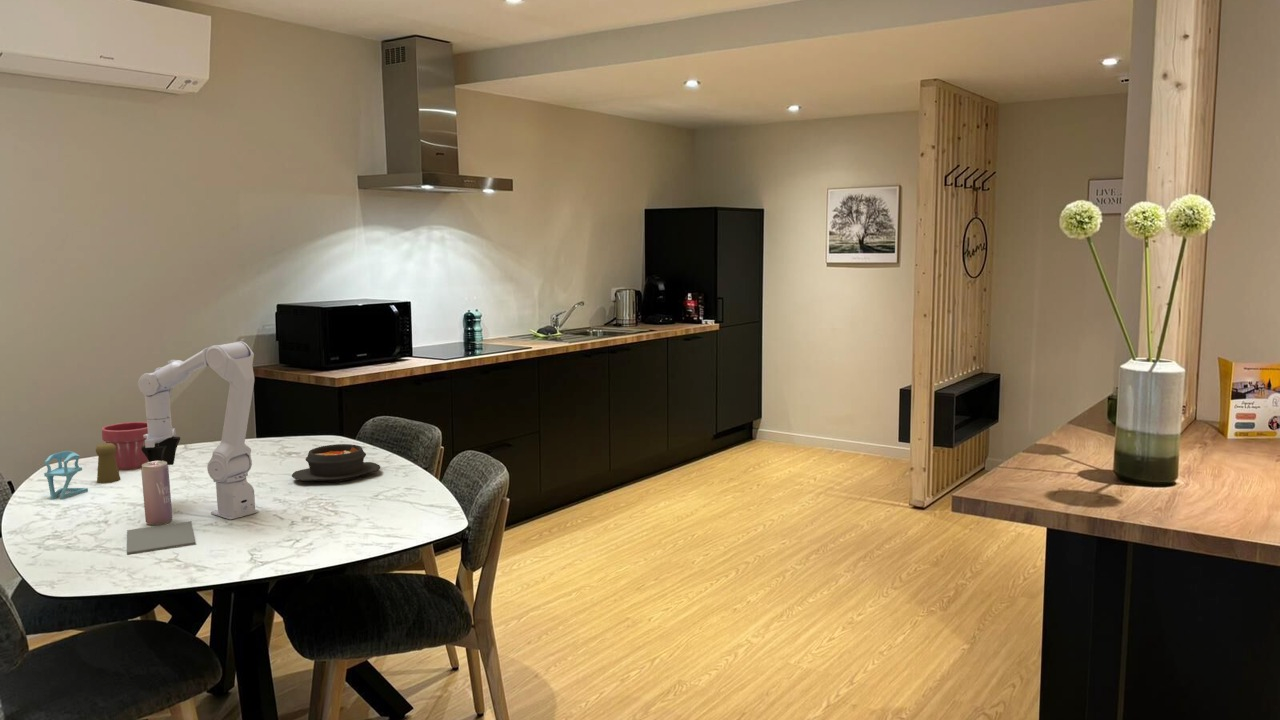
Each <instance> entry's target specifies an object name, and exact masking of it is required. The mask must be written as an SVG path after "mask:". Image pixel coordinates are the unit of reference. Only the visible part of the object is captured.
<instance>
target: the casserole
mask: <svg viewBox="0 0 1280 720" xmlns="http://www.w3.org/2000/svg"><path fill="white" fill-rule="evenodd" d="M365 457H367V453H366V452H365V451H364V449H363V447H362V446H360V445H356V444H351V443H348V444H347V443H340V444H339V443H337V444H335V443H334V444H328V445H323V446H317V447H315V448H312V449H310V450H309V451H308V453H307V457H306V458H305V461H306V463H307V464H308V468H304V469H300V470H295V471H294V472H293V473H292V474H291V477H292V478H293V479H294V480H298V481H303V482H304V481H307V482H310V481H320V482H324V483H326V482H327V483H328V482H329V483H336V482H345V481H348V480H352V479H355V478H357V477H359V476H362V475H365V474H371V473H374V472H378V471H380V469H381V465H380V464H378V463H377V462H376V463H375V462H372V461H364V459H365Z"/></svg>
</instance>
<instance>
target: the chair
mask: <svg viewBox="0 0 1280 720" xmlns="http://www.w3.org/2000/svg"><path fill="white" fill-rule="evenodd" d="M53 459H56V460H57V462H58V463H57V464H58V465H57V466H58V467H56V468H54V469H52V467H51V465H50V462H51V461H52V460H53ZM62 459H64V460H63V462H62ZM73 459H74V467H69V466H68V463H69V462H70V461H71V460H73ZM79 459H80V454H78V453H76V452H74V451H70V450H64V451H61V452H56V453H53V454H50V455H49V456H47V458H46V460H44V463H45V466H46V468H47V471H46V472H44V473H43V475H44V476H43V477H46V480H47V482H48V483H47V484H48V488H49V494H50V500H55V499H57V498H58V497H59V500H64V499H67V498H71V497H73V496H76V495H80V494H83V493H84V494H85V493H87V492H88V491H89V488H88V487H69V485H70V483H71V481H72V479H73V477H74V476H75V475H76V474H78V472H81V471H83V467H82V466H79ZM62 463H63V464H62ZM54 477H66V480H65V482H64V485H63V487H60V488H58V489H57V490H55V489H56V488H55V484H54ZM66 492H67V493H66Z"/></svg>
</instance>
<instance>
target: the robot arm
mask: <svg viewBox="0 0 1280 720" xmlns="http://www.w3.org/2000/svg"><path fill="white" fill-rule="evenodd" d="M254 356H255V353H254V352H253V350H252V349H251V348H250V346H249V345H248V344H247V343H246V342H244V341H241V340H240V341H234V342H231V343H225V344H223V343H222V344H219V345H218V344H215V345H214V344H213V345H211V346H209V347H205V348H204V349H202V350H201V351H199V352H197V353H196V354H194V355H192V356H190V357H189V358H187V359H186V360H184V361H183V360H180V359H170V360H168V361H167V364H166V365H164V366H162V367H161V366H160V367H157V368H155V369H154V372H150V373H149V372H146V373H143V374H142V375H141V376H140V377H139V379H138V380H137V381H138V382H137V387H138V389H139V391H140V393H141V394H143V396H144V403H145V404H144V406H145V415H146V422H147V428H148V434H145V435H143V437H144V438H147V439H146V440H145V445H144V446H142V447H141V450H142V452H143V453H144V454H145V456H146V457H147V459H148V462H153V461H166V462H167V465H168V466H173V465H174V464H175V458H176V454H177V453H176V452H177V448H178V445H179V443H180V441H181V437H180V436H176V428H175V427H174V428H173V425H172V423H173V422H172V411H171V400H170V399H171V398H172V390H173V389H174V387H176V386H179V385H180V384H182V383H184V382H186V381H188V380H190V378H191V374H192V373H193V372H195V371H199V370H200V369H202V368H204V367H209V368H210V369H212V371H214V372H215V373H216V375H218V376H219V377H220V378H222V379H223V380H224V381H226V382H227V383H228V384H229V387H228V394H227V400H226V401H227V402H226V408H225V413H224V421H223V428H222V432H221V441H220V443H219V444H218V445H217V446H216V447H215V449H214V450H213V451H212V456H211V458H210V459H209V461H208V463H207V468H206V469H207V473H208V475H209V477H210V478H211V479H212V480H213V483H215V490H216V491H215V492H216V503H217V509H216V510H212V511H210V514H211V515H215V516H218V517H221V518H225V519H227V520H234V519H239V518H242V517H245V516H249V515H254V514H256V513H259V512H260V510H259V509H257V508H256V499H255V489H254V487H253V486H252V484H251V483H249V482H248V480H247V477H249V474H248V472H250V470H251V469H252V466H253V460H252V455H251V454H252V449H251V447H249V445H247V444H246V436H247V432H248V430H247V429H248V424H249V417H250V411H251V406H252V400H253V399H252V398H253V393H254V392H253V391H254V387H255V386H254V385H255V373H254V368H253V363H254Z"/></svg>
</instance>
